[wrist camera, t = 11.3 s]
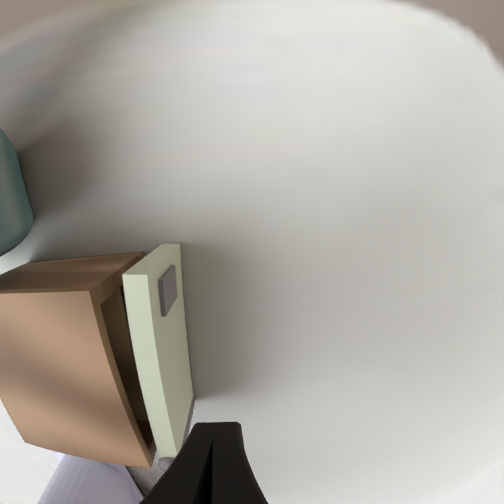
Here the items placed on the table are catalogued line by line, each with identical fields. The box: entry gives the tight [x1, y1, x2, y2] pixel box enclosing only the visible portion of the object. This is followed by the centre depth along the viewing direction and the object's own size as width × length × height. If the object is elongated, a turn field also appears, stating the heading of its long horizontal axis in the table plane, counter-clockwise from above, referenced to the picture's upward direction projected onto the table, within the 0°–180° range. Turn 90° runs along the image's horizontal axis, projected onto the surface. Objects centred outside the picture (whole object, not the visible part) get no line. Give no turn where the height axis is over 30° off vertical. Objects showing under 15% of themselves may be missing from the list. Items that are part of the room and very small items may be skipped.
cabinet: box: [0, 252, 157, 469], centre depth 15 cm, size 10×9×7 cm
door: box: [122, 243, 196, 472], centre depth 15 cm, size 11×1×6 cm, turn 0°
